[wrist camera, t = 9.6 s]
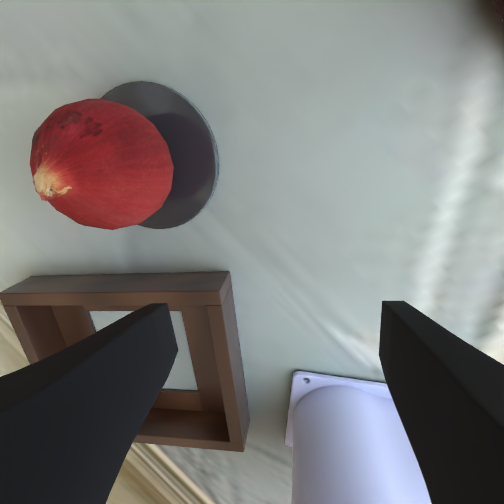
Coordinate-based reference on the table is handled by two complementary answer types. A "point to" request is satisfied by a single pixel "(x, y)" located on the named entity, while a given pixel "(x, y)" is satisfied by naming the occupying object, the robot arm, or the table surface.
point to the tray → (131, 299)
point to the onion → (101, 164)
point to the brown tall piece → (500, 8)
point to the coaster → (176, 148)
